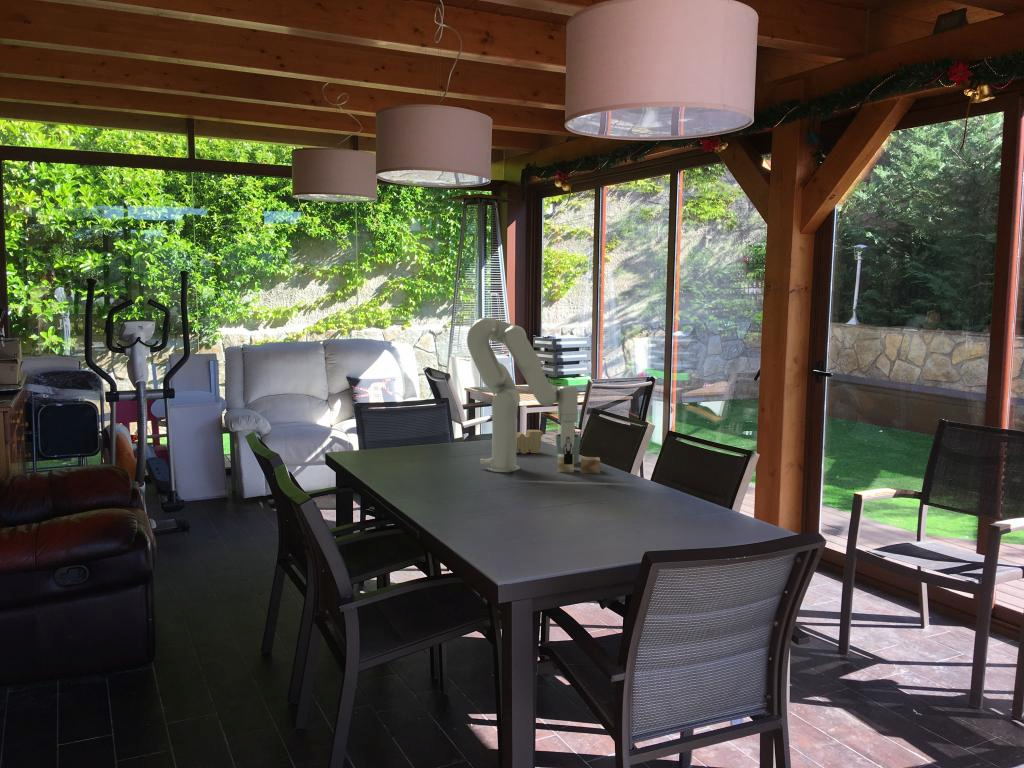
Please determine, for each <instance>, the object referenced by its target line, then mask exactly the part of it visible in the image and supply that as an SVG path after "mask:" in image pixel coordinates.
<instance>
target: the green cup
mask: <svg viewBox="0 0 1024 768" xmlns="http://www.w3.org/2000/svg"><path fill="white" fill-rule="evenodd" d="M555 445H556V459H557V460H556V461H557V463H558V454H564V447H563V448H561V433H558V434H555ZM580 445H581V434H576V433H575V434H574V447H573V448H572V454H574V465H576V464H578V463H579V458H580V457H579V455H580V447H581V446H580Z"/></svg>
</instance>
